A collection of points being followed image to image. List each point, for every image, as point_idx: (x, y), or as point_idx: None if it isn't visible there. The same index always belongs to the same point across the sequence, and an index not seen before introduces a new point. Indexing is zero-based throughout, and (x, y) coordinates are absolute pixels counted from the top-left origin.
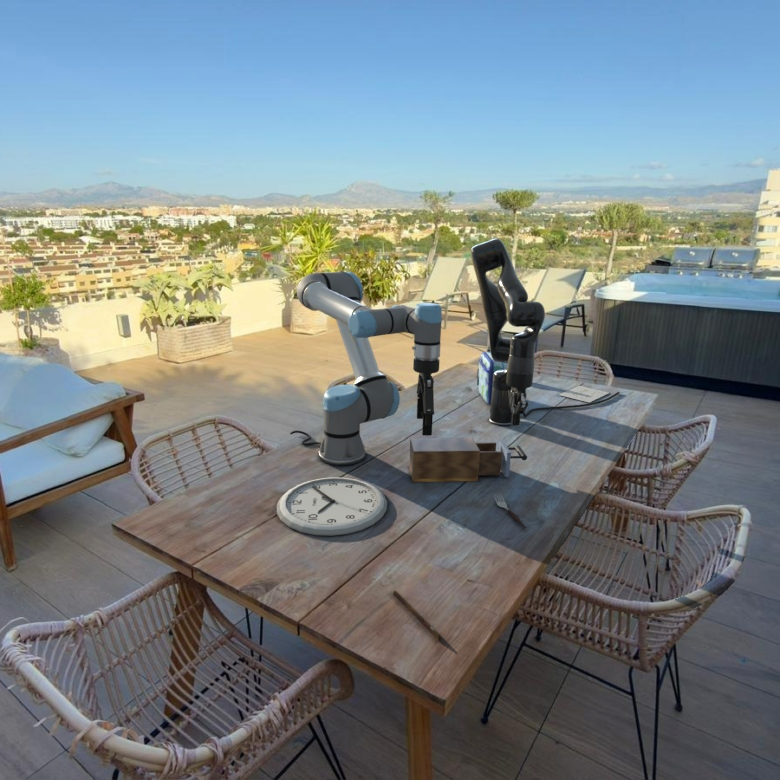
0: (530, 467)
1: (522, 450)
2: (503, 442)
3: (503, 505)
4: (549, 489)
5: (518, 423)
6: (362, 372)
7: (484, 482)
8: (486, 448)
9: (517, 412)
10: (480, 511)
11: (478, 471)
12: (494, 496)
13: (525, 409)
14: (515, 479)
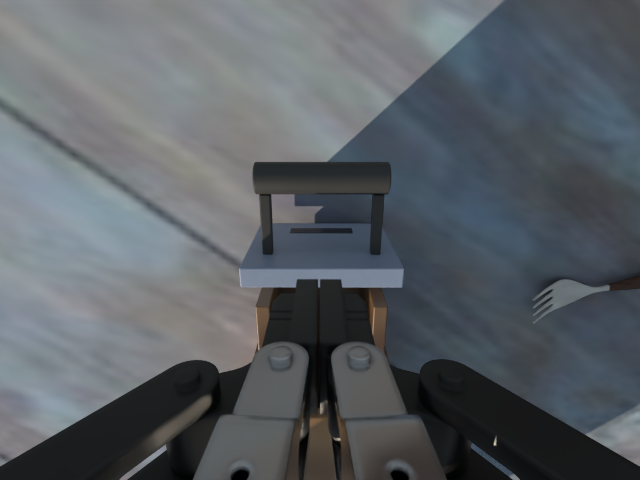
0: (267, 87)
1: (320, 171)
2: (264, 272)
3: (569, 291)
4: (483, 73)
5: (361, 303)
6: None
7: (391, 307)
8: None
9: (489, 467)
10: (571, 356)
11: (385, 348)
12: (538, 319)
13: (607, 454)
14: None
